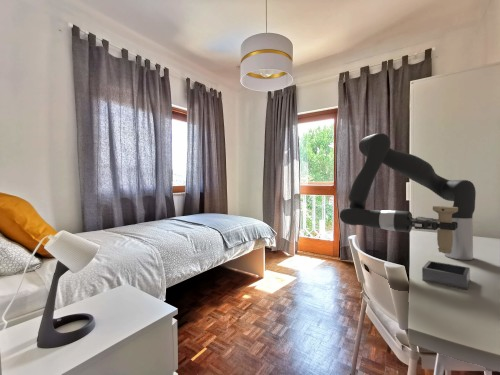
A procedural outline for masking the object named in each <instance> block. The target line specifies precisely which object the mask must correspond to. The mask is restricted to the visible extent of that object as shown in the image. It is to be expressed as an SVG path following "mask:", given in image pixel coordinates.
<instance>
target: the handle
mask: <svg viewBox="0 0 500 375" xmlns="http://www.w3.org/2000/svg"><path fill="white" fill-rule="evenodd" d="M432 211H434V212H435V213H437V215H438V216H437V217H438V218H437V219H438V221H439V222H440V223H441V222H446V223H452V214H453V213H456V212H457V211H458V207H453V206H443V205H441V206H440V205H439V206H436V205H433V206H432ZM436 231H437V232H436V236H437V237H436V238H437V239H436V241H437V246H438V249H437V250H438V252H439V253H442V254H445V253H448V254H450V253H451V251H452V249H451V248H452V243H453V230H445V229H441V228H440V229H439V230H436Z"/></svg>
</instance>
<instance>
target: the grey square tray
mask: <svg viewBox="0 0 500 375" xmlns="http://www.w3.org/2000/svg"><path fill="white" fill-rule="evenodd" d="M421 271H422V272H421V274H422V275H421V277H422V281H425V282H430V283H433V282H434V284H438V283H439V285H442V284H443V286H447V287H451V286H452V288H455V287H457V289H460V288H461V289H460V290H464V289H465V291H467V290H468V288H469V284H470V282H471V268H470V267H468V266H462V265H457V264H456V265H454V264H451V263H445V262H439V261H434V260H433V261H432V260H428V261H427V262H426V263H425V264H424V266H422V268H421Z"/></svg>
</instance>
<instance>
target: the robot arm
mask: <svg viewBox="0 0 500 375" xmlns="http://www.w3.org/2000/svg"><path fill="white" fill-rule="evenodd" d="M358 149H359V151H360V153H361V154H362V155H363V156H365V157H366V159H365V162H364V164H363V166H362V168H361V170H360V172H359V173H358V174H357V176H356V177H355V179H354V181H353V182H352V185H351V188H350V191H349V194H348V201H349V206H348V207H345V208H343V209H342V210H341V211H340V212H339V218H340V220H341V222H342V223H343V224H346V225H350V226H365V227H369V228H375V229H382V230H386V231H387V230H388V231H394V232H402V233H403V232H404V233H411V231H412V230H413V228H414V229H415V230H428V231H430V230H431V231H432V230H433V231H438V230H439V229H440V228H441V229H445V230H453V243H452V248H451V249H452V251H451V253H450V254H448V253H444V256H445V257H447V258H450V259H451V258H452V259H455V260H461V261H462V260H463V261H470V260H471V261H472V260H474V228H473V227H474V226H473V221H474V219H473V215H474V212H475V211H476V210H475V209H476V194H477V192H476V187H475V185H474V183H473V182H472V181H471V180H467V179H453V180H452V179H450V180H449V179H447V178H445V177H442V176H440V175H439V174H437V173H436V171H435V169H434V168H433V165H432V164H430V163H429V162H428V161H426V160H424V159H422V158H421V157H418V156H416V155H414V154H410V153H407V152H404V151H400V150H396V149H393V148H391V140H390V137H389V136H388V135H387V133H381V132H378V133H374V134H371V135H367V136H365V137H363V138H362V139H361V140H360V141H359V143H358ZM381 165H385V166H386V167H389V168H390V169H392V170H394V171H395V172H397V173H399V174H400V175H402V176H404V177H406V178H408V179H410V180H411V181H414V183H415V182H416V183H417V184H418V185H421V186H422V187H425V188H427V189H429V190H430V191H432V192H433V193H434V194H435V195H437V196H438V197H440V198H441V199H443V200H445V201H449V202H453V205H452V207H458V211H457V212H456V213H453V214H452V223H446V222H441V223H440V222H439V221H438V218H433V217H425V216H416V217H414V218H413V213H412V212H411V211H408V210H396V209H395V210H394V209H391V210H390V209H386V210H385V209H384V210H380V209H366V202H367V199H368V196H369V193H370V191H371V188H372V185H373V183H374V181H375V178H376V175H377V173H378V172H379V169H380V167H381Z"/></svg>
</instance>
